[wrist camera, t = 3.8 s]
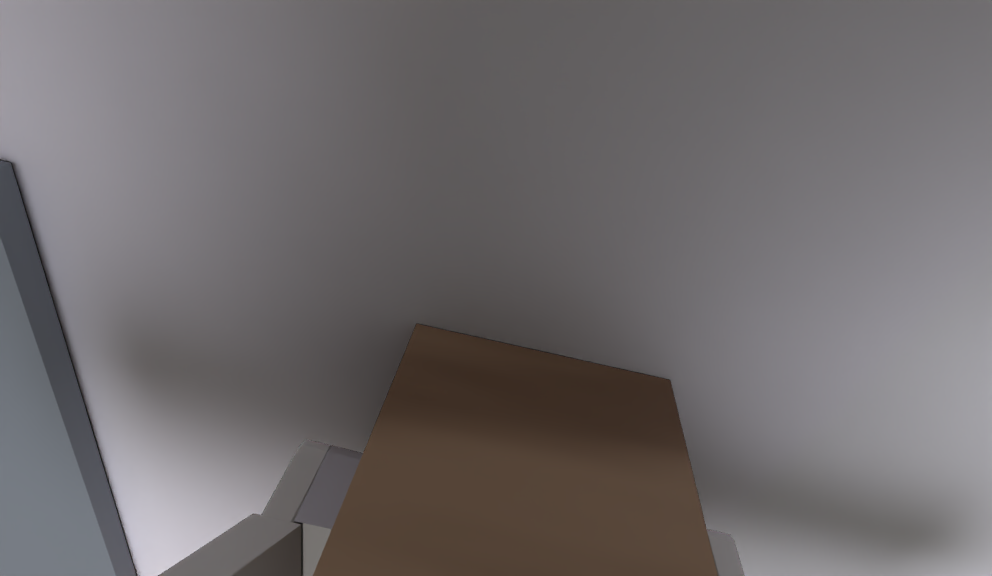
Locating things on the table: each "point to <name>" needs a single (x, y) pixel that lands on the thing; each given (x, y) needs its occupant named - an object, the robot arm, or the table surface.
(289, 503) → the robot arm
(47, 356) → the grey flat square plate
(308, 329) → the table surface
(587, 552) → the walnut block
